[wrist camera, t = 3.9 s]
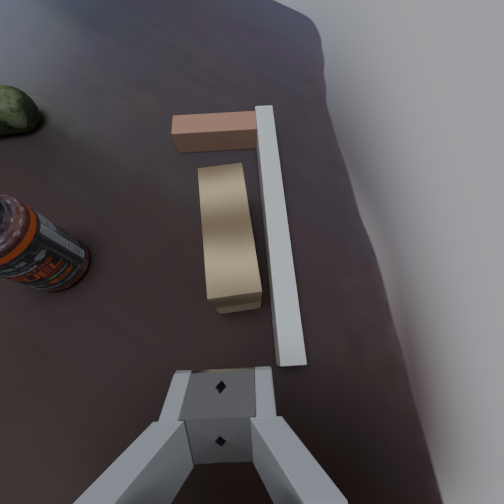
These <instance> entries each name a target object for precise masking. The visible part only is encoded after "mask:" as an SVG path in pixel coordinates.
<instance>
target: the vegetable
mask: <svg viewBox="0 0 504 504" xmlns="http://www.w3.org/2000/svg"><path fill="white" fill-rule="evenodd" d="M38 120H39V111H38V108H37V106H36V104H35V103H34V101H33V100H32V99H31V98H30V97H29V96H28V95H27V94H26V93H24V92H23V91H21V90H19V89H17V88H15V87H12V86H8V85H2V86H0V135H6V134H13V133H23V132H29V131H31V130H33V129H34V128H35V126H36V125H37V123H38Z"/></svg>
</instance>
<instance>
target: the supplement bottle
mask: <svg viewBox="0 0 504 504" xmlns="http://www.w3.org/2000/svg"><path fill="white" fill-rule="evenodd" d="M88 264H89V253H88V250H87V248H86V247H85V245H84V244H83V243H81V242H80V241H79V240H77V239H76V238H74V237H73V236H72V235H70V234H68V233H67V232H65V231H64V230H63V229H61V228H59V227H58V226H57V225H55V224H54V223H52V222H51V221H49V220H48V219H46V218H45V217H43V216H42V215H40V214H39V213H37V212H36V211H34V210H33V209H31V208H30V207H28V206H27V205H25V204H24V203H22V202H21V201H19V200H17V199H15V198H13V197H10V196H7V195H1V194H0V277H3V278H6V279H9V280H12V281H15V282H18V283H22V284H24V285H28V286H31V287H34V288H37V289H41V290H45V291H59V290H63V289H66V288H68V287H70V286H72V285H73V284H75V283H76V282H77V281H78V280H79V279H80V278H81V277H82V276H83V274H84V273H85V272H86V270H87V268H88Z"/></svg>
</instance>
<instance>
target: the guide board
mask: <svg viewBox="0 0 504 504" xmlns="http://www.w3.org/2000/svg"><path fill="white" fill-rule="evenodd" d="M172 136H173V139H174V142H175V144H176V147H177V150H178V152H179V153H188V152H205V151H221V150H238V149H255V148H257V158H258V169H259V180H260V191H261V202H262V213H263V223H264V234H265V245H266V256H267V267H268V278H269V289H270V300H271V310H272V321H273V332H274V343H275V354H276V365H278V366H294V365H307V362H306V355H305V347H304V340H303V332H302V325H301V317H300V310H299V303H298V295H297V288H296V280H295V273H294V265H293V258H292V250H291V243H290V235H289V228H288V220H287V213H286V205H285V198H284V191H283V183H282V176H281V168H280V161H279V153H278V146H277V138H276V131H275V123H274V116H273V108H272V105H270V106H255V111H245V112H228V113H211V114H194V115H177V116H173V122H172Z"/></svg>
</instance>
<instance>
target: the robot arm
mask: <svg viewBox="0 0 504 504" xmlns="http://www.w3.org/2000/svg"><path fill="white" fill-rule="evenodd" d="M219 462H253V463H254V465H255V467H256V469H257V471H258V473H259V475H260V477H261V479H262V481H263V483H264V485H265V487H266V489H267V491H268V493H269V495H270V497H271V499H272V501H273V503H274V504H348V501H347V499H346V498H345V497H344V496H343V494H342V493H341V492H340V490H339V489H338V488H337V487H336V485H335V484H334V483H333V481H332V480H331V479H330V478H329V476H328V475H327V474H326V472H325V471H324V470H323V469H322V467H321V466H320V465H319V463H318V462H317V461H316V460H315V458H314V457H313V456H312V455H311V453H310V452H309V451H308V449H307V448H306V447H305V446H304V444H303V443H302V442H301V440H300V439H299V438H298V437H297V435H296V434H295V433H294V431H293V430H292V429H291V428H290V426H289V425H288V424H287V422H286V421H285V420H284V419H283V417H282V416H276V407H275V397H274V388H273V379H272V369H271V367H270V366H266V367H255V368H254V367H247V368H229V369H209V370H177V371H176V372H175V374H174V376H173V379H172V381H171V384H170V387H169V390H168V393H167V396H166V399H165V402H164V405H163V408H162V411H161V414H160V417H159V420H158V422H152V423H151V424H150V425H149V426H148V428H147V429H146V430H145V431H144V432H143V433H142V434H141V435H140V436H139V437H138V438H137V439H136V440H135V441H134V442H133V443H132V444H131V445H130V446H129V447H128V448H127V449H126V450H125V451H124V452H123V453H122V454H121V455H120V456H119V457H118V458H117V459H116V460H115V461H114V462H113V463H112V464H111V465H110V466H109V467H108V468H107V469H106V470H105V471H104V473H103V474H102V475H101V476H100V477H99V478H98V479H97V480H96V481H95V482H94V483H93V484H92V485H91V486H90V487H89V488H88V489H87V490H86V491H85V492H84V493H83V494H82V495H81V496H80V497H79V498H78V499H77V500H76V501H75V502H74V503H73V504H171V503H172V501H173V499H174V498H175V496H176V495H177V493H178V491H179V490H180V488H181V486H182V485H183V483H184V482H185V480H186V478H187V477H188V475H189V474H190V472H191V470H192V469H193V467H194V466H193V464H206V463H219Z"/></svg>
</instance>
